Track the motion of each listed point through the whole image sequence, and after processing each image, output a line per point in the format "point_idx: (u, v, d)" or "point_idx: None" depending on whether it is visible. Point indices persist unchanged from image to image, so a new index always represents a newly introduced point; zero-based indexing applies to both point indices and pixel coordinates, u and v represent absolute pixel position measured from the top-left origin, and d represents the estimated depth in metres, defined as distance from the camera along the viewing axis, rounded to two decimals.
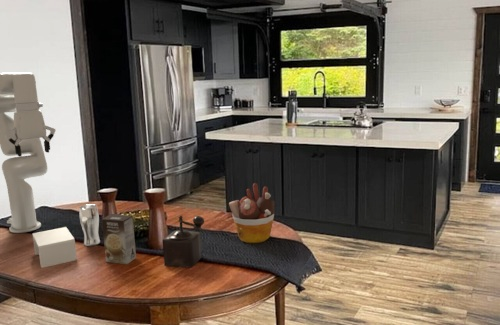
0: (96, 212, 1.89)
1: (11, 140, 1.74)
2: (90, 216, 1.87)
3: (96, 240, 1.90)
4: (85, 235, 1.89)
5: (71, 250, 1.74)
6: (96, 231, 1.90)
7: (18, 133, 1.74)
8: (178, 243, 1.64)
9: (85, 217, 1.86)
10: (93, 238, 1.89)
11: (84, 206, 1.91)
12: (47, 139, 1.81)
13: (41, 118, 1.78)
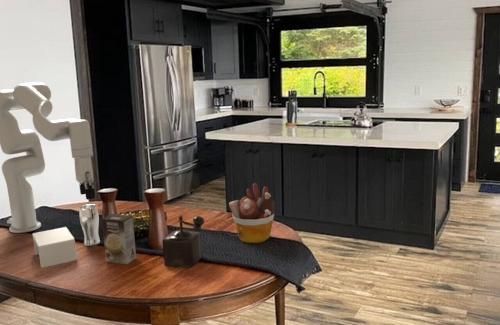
0: (96, 212, 1.89)
1: None
2: (90, 216, 1.87)
3: (96, 240, 1.90)
4: (85, 235, 1.89)
5: (71, 250, 1.74)
6: (96, 231, 1.90)
7: None
8: (178, 243, 1.64)
9: (85, 217, 1.86)
10: (93, 238, 1.89)
11: (84, 206, 1.91)
12: None
13: None
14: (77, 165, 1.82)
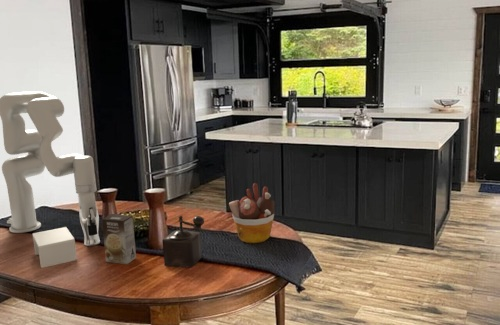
0: None
1: None
2: (90, 216, 1.87)
3: (96, 240, 1.90)
4: (85, 235, 1.89)
5: (71, 250, 1.74)
6: None
7: (96, 211, 1.86)
8: (178, 243, 1.64)
9: None
10: (93, 238, 1.89)
11: None
12: None
13: None
14: (81, 201, 1.85)
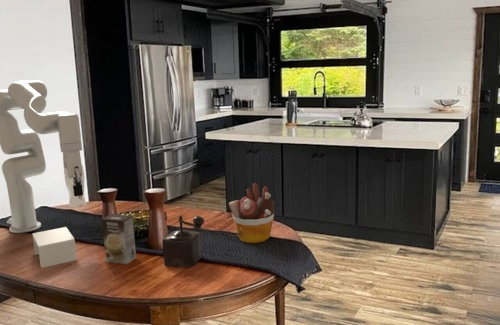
0: (82, 172, 1.82)
1: None
2: (75, 176, 1.80)
3: (82, 201, 1.84)
4: (70, 196, 1.83)
5: (71, 250, 1.74)
6: None
7: None
8: (178, 243, 1.64)
9: None
10: (79, 199, 1.83)
11: None
12: None
13: None
14: (66, 160, 1.78)
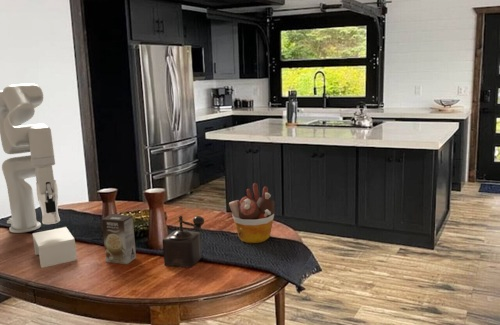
0: (55, 187, 1.74)
1: (52, 196, 1.70)
2: None
3: (55, 218, 1.75)
4: (43, 213, 1.74)
5: (71, 250, 1.74)
6: None
7: (54, 186, 1.71)
8: (178, 243, 1.64)
9: None
10: (52, 215, 1.74)
11: None
12: None
13: None
14: (37, 175, 1.70)
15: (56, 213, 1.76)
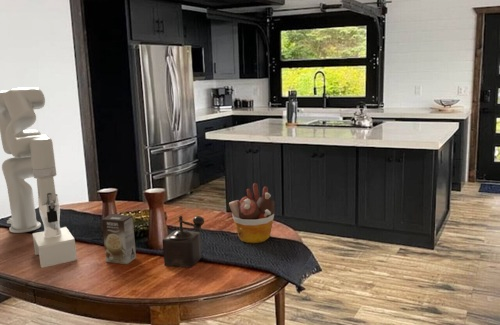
0: (56, 202, 1.75)
1: None
2: None
3: (57, 232, 1.77)
4: (45, 227, 1.76)
5: (71, 250, 1.74)
6: (57, 222, 1.77)
7: (55, 197, 1.72)
8: (178, 243, 1.64)
9: (44, 207, 1.73)
10: (53, 229, 1.76)
11: None
12: None
13: None
14: (39, 186, 1.71)
15: (58, 227, 1.77)
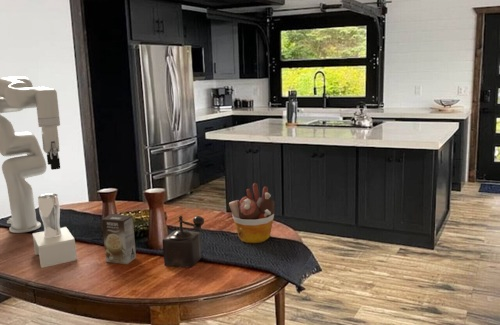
0: (56, 202, 1.75)
1: None
2: (49, 206, 1.73)
3: (57, 232, 1.77)
4: (45, 227, 1.76)
5: (71, 250, 1.74)
6: (57, 222, 1.77)
7: (58, 146, 1.81)
8: (178, 243, 1.64)
9: (44, 207, 1.73)
10: (53, 229, 1.76)
11: (44, 195, 1.78)
12: None
13: None
14: (43, 134, 1.80)
15: (58, 227, 1.77)
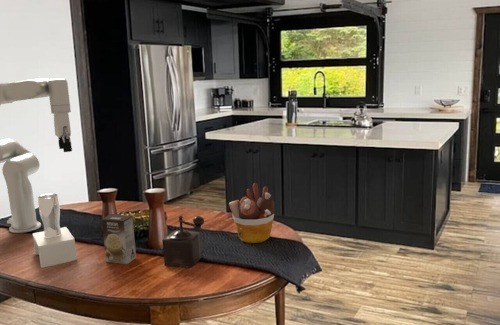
0: (56, 202, 1.75)
1: (69, 137, 1.97)
2: (49, 206, 1.73)
3: (57, 232, 1.77)
4: (45, 227, 1.76)
5: (71, 250, 1.74)
6: (56, 222, 1.77)
7: (70, 130, 1.99)
8: (178, 243, 1.64)
9: (44, 207, 1.73)
10: (53, 229, 1.76)
11: (44, 195, 1.78)
12: None
13: None
14: (56, 120, 1.98)
15: (58, 227, 1.77)
